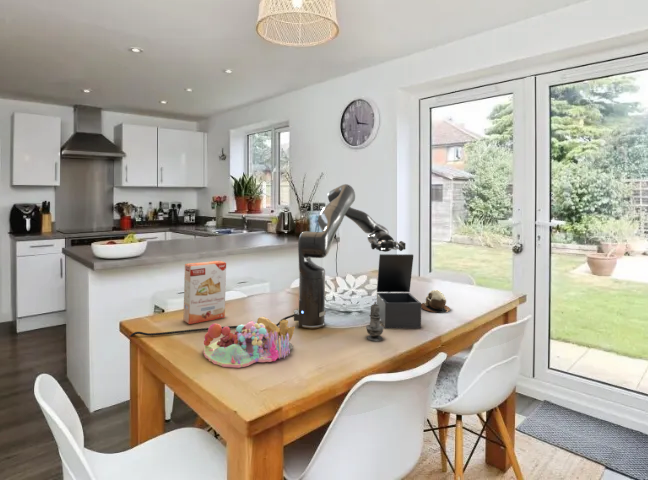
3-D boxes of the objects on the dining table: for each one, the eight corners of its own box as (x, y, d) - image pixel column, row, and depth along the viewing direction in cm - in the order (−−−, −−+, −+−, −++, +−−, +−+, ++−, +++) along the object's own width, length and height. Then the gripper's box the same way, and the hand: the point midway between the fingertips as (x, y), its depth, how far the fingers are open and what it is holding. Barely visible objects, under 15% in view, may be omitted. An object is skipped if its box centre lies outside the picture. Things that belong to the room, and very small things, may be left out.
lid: (413, 255, 155) (413, 254, 155) (380, 255, 154) (379, 254, 155) (409, 292, 159) (409, 291, 160) (377, 292, 158) (376, 291, 159)
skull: (412, 302, 174) (426, 284, 176) (428, 318, 176) (442, 299, 178) (427, 309, 162) (442, 289, 164) (444, 326, 164) (459, 305, 166)
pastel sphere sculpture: (251, 331, 139) (252, 304, 139) (307, 347, 125) (308, 317, 125) (190, 355, 118) (190, 322, 118) (248, 377, 105) (249, 340, 105)
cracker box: (189, 325, 144) (190, 265, 144) (182, 321, 149) (183, 263, 149) (225, 318, 153) (226, 261, 153) (218, 314, 158) (219, 259, 158)
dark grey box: (420, 328, 145) (421, 303, 145) (385, 328, 144) (385, 303, 144) (409, 315, 159) (409, 292, 159) (376, 315, 159) (376, 292, 159)
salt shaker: (383, 342, 130) (383, 304, 130) (364, 340, 132) (365, 303, 132) (384, 336, 136) (384, 299, 136) (366, 334, 137) (366, 298, 137)
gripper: (368, 233, 183) (373, 239, 167) (399, 233, 183) (408, 239, 167) (368, 249, 183) (373, 257, 167) (399, 249, 184) (408, 257, 168)
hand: (391, 248), depth 167 cm, fingers open, 8 cm apart
